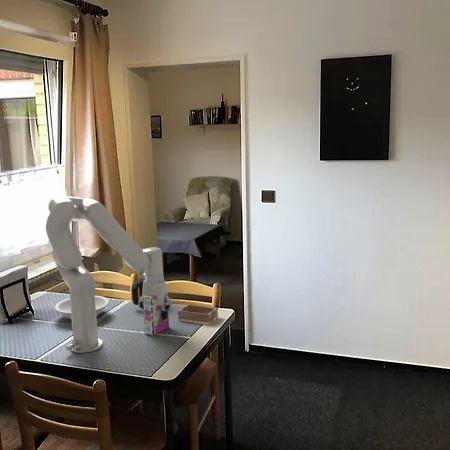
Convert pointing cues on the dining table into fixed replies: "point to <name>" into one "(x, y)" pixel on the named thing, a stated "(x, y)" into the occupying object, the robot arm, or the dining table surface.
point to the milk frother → (135, 290)
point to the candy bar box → (153, 316)
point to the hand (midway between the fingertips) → (156, 317)
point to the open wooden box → (198, 314)
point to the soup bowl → (66, 312)
